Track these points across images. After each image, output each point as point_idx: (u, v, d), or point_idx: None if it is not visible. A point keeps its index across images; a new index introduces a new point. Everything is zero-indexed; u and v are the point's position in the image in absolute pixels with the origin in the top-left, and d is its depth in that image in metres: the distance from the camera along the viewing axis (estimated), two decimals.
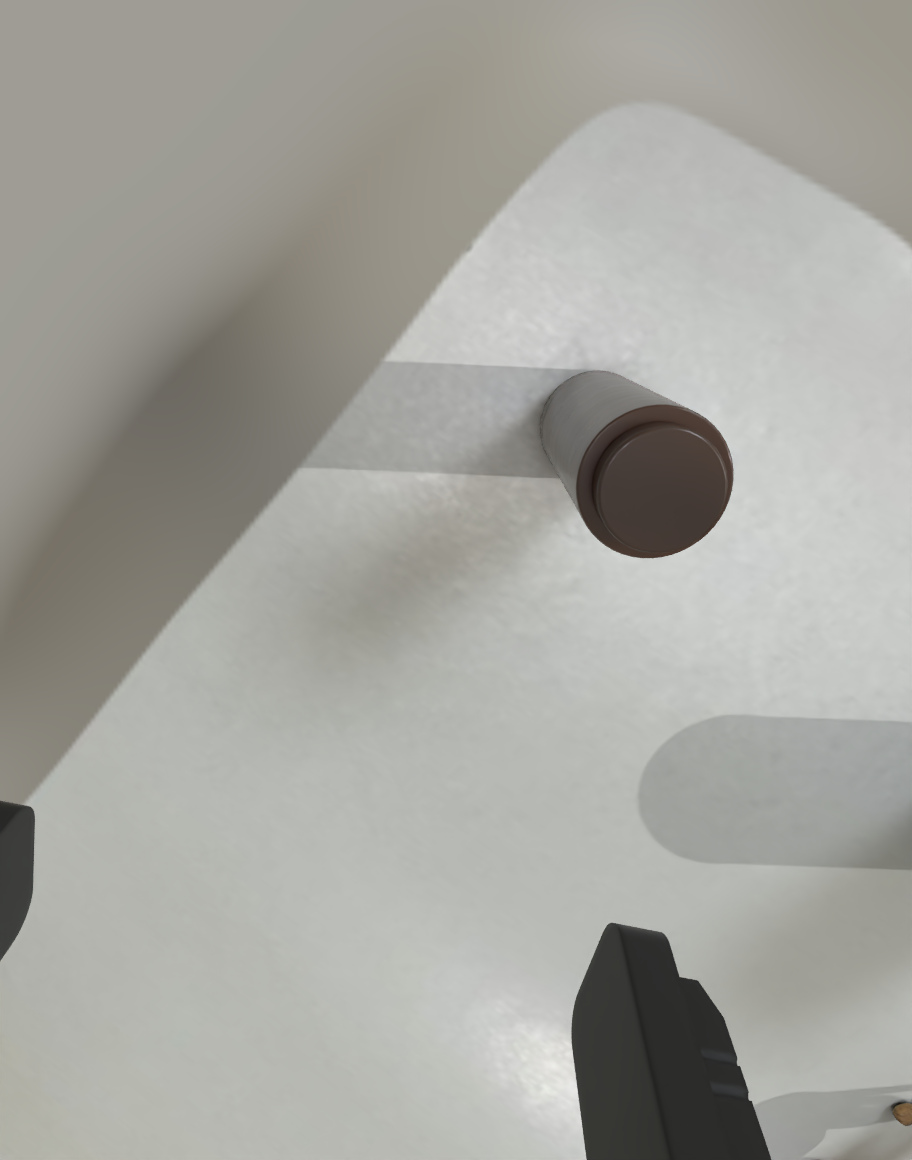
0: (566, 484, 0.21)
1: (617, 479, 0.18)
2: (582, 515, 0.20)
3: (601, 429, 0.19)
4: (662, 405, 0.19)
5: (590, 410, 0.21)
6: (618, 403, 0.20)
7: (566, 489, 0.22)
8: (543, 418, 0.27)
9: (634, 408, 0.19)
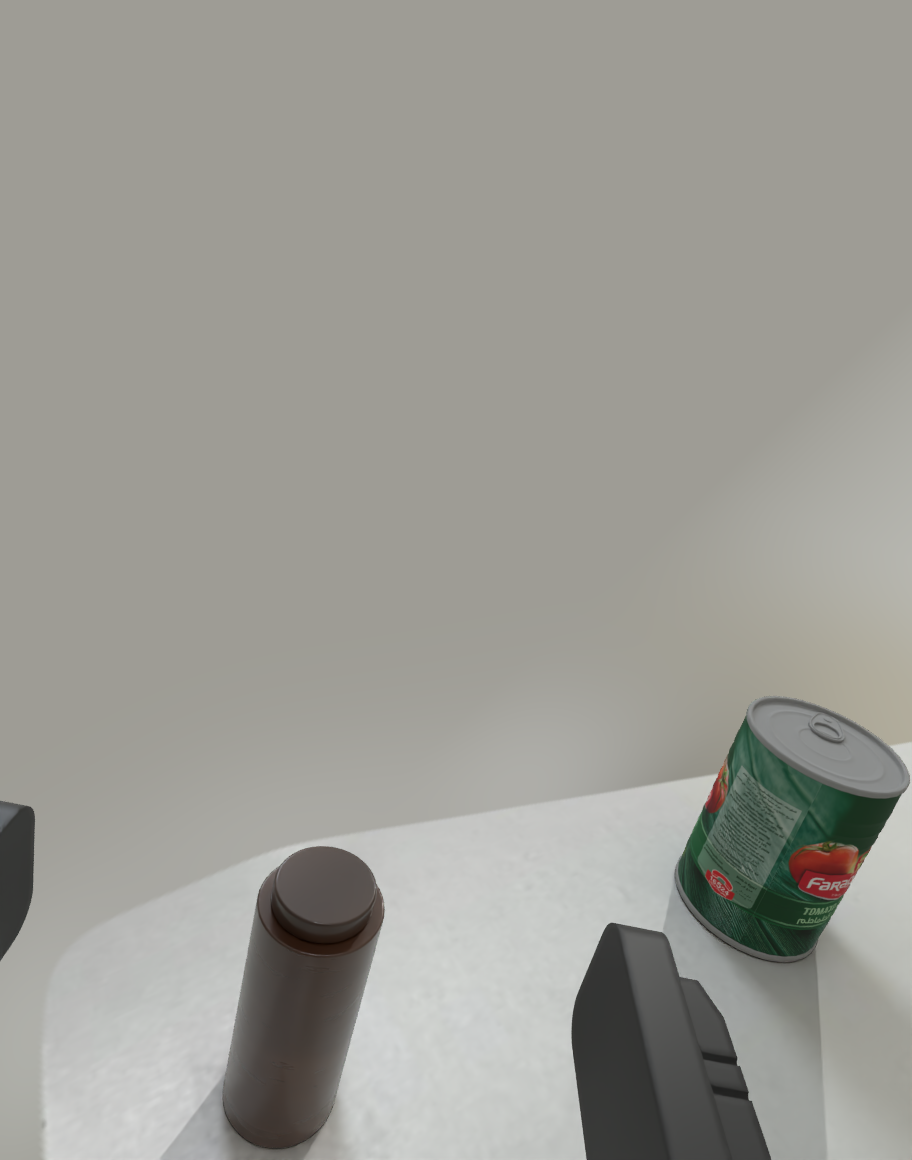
0: (292, 1005, 0.23)
1: (298, 902, 0.23)
2: (315, 956, 0.22)
3: (258, 915, 0.23)
4: None
5: (247, 968, 0.24)
6: (252, 926, 0.24)
7: (300, 1025, 0.23)
8: (240, 1121, 0.25)
9: (259, 892, 0.24)
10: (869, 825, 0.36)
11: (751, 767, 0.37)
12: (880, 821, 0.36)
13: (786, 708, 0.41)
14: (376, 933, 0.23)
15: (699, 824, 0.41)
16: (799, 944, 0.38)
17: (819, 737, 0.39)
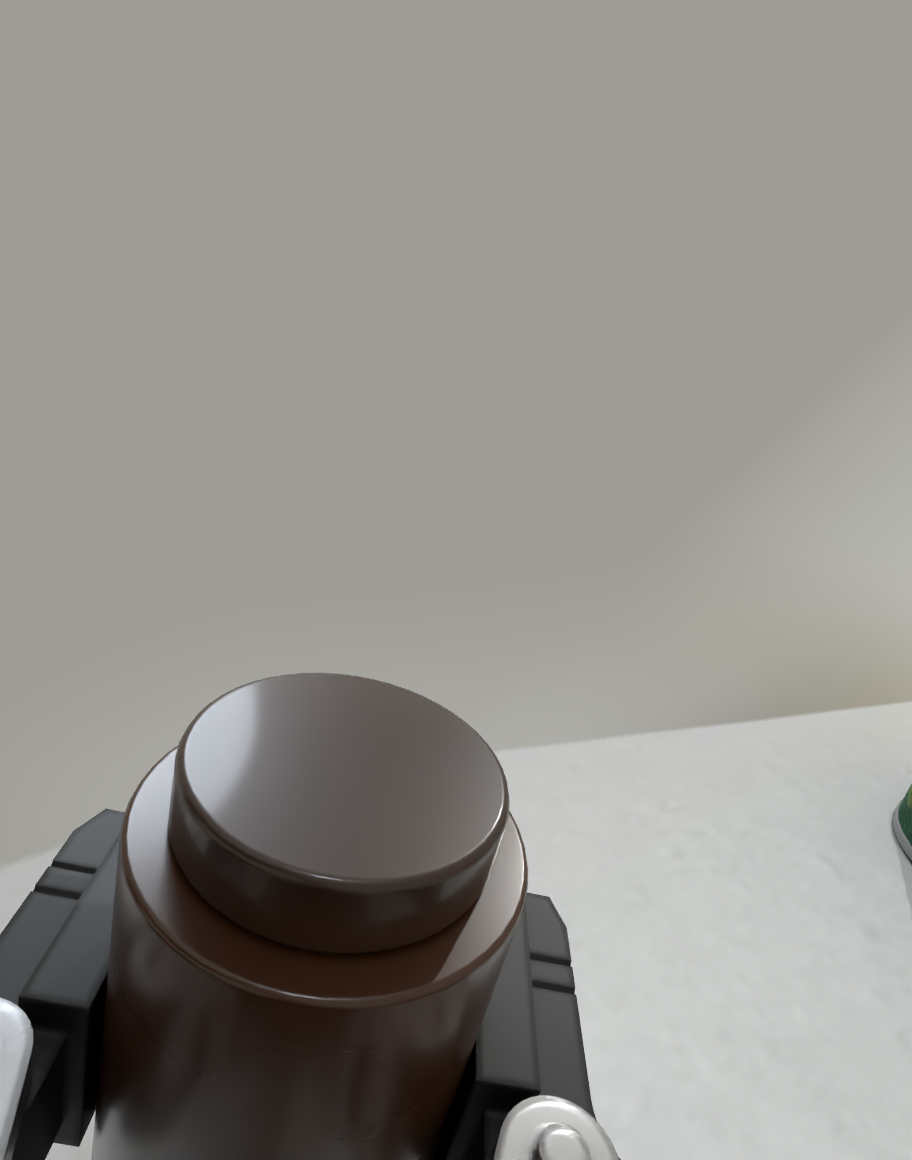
0: None
1: (256, 809, 0.06)
2: (318, 1003, 0.06)
3: (120, 858, 0.07)
4: None
5: None
6: None
7: None
8: None
9: (137, 792, 0.08)
10: None
11: None
12: None
13: None
14: (516, 919, 0.07)
15: None
16: None
17: None
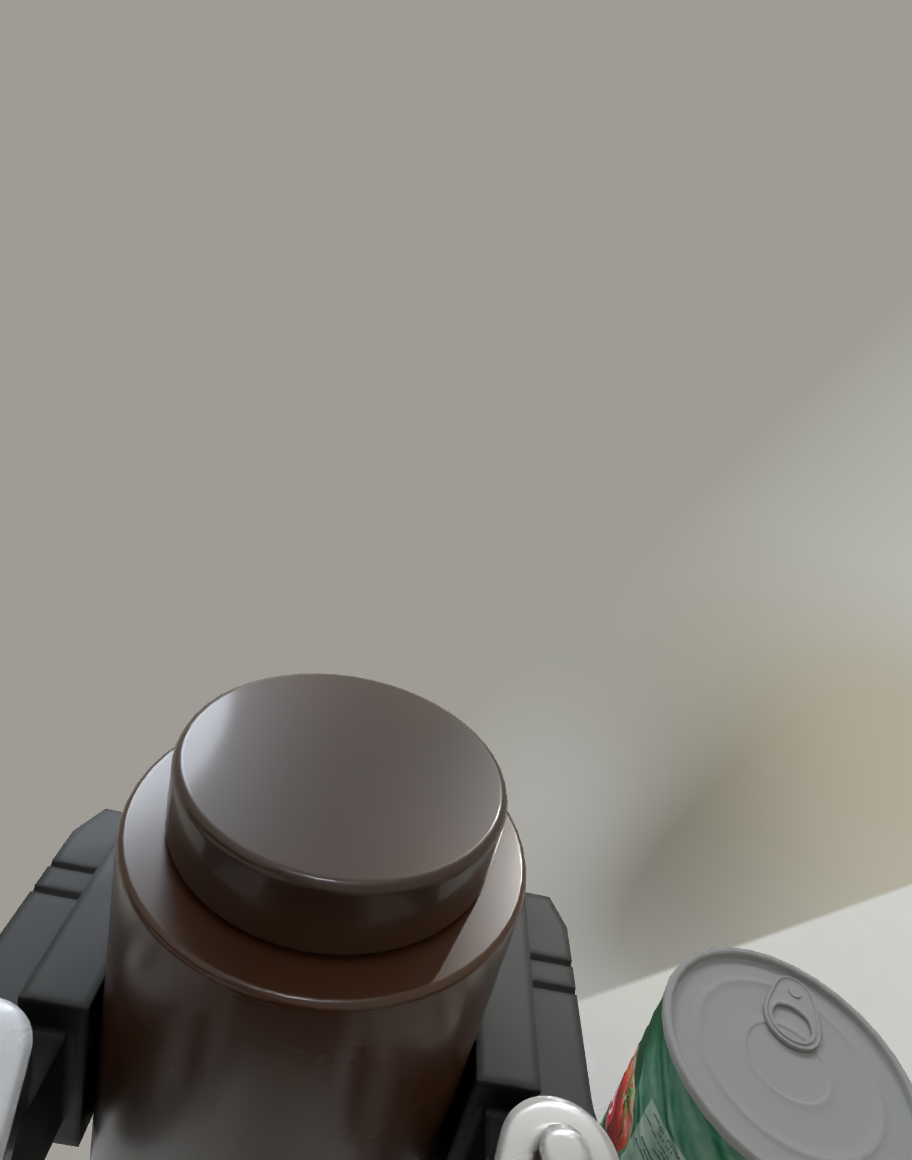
0: None
1: (252, 811, 0.06)
2: (314, 1005, 0.06)
3: (116, 859, 0.07)
4: None
5: (100, 1032, 0.08)
6: None
7: None
8: None
9: None
10: None
11: (665, 1112, 0.22)
12: None
13: (730, 972, 0.26)
14: (514, 921, 0.07)
15: None
16: None
17: (779, 1042, 0.24)
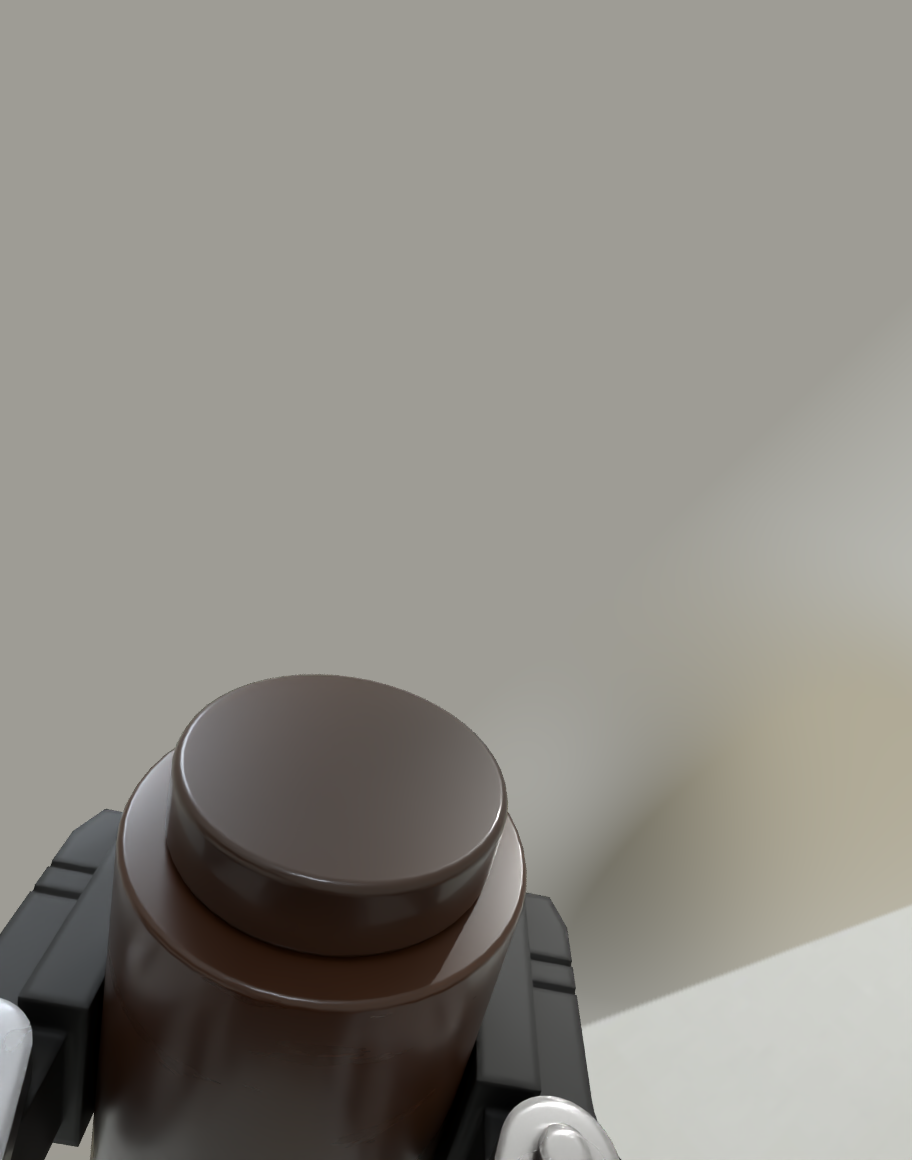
0: None
1: (253, 812, 0.06)
2: (315, 1006, 0.06)
3: (117, 861, 0.07)
4: None
5: None
6: None
7: None
8: None
9: None
10: None
11: None
12: None
13: None
14: (515, 922, 0.07)
15: None
16: None
17: None
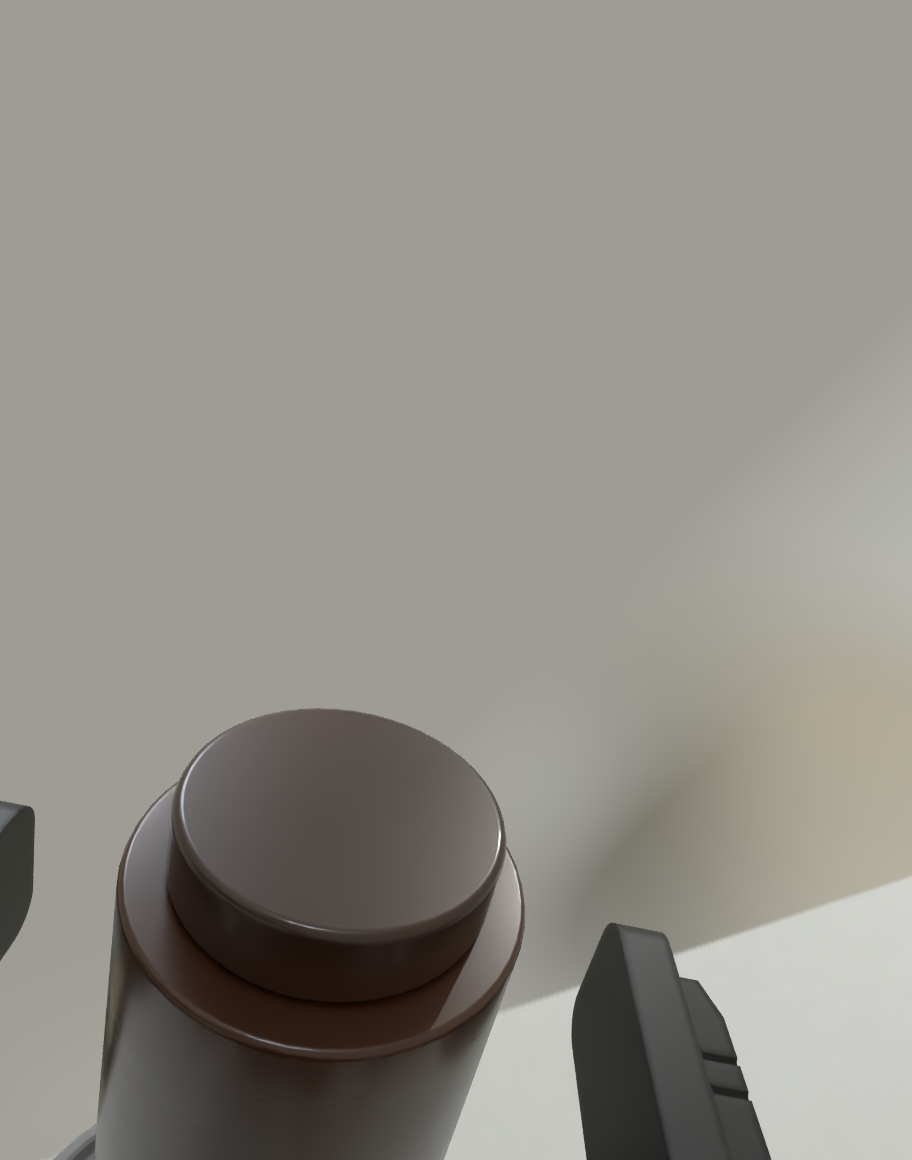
0: None
1: (252, 858, 0.06)
2: (314, 1055, 0.06)
3: (117, 904, 0.07)
4: (173, 785, 0.08)
5: (101, 1069, 0.08)
6: None
7: None
8: None
9: None
10: None
11: None
12: None
13: None
14: (513, 962, 0.07)
15: None
16: None
17: None
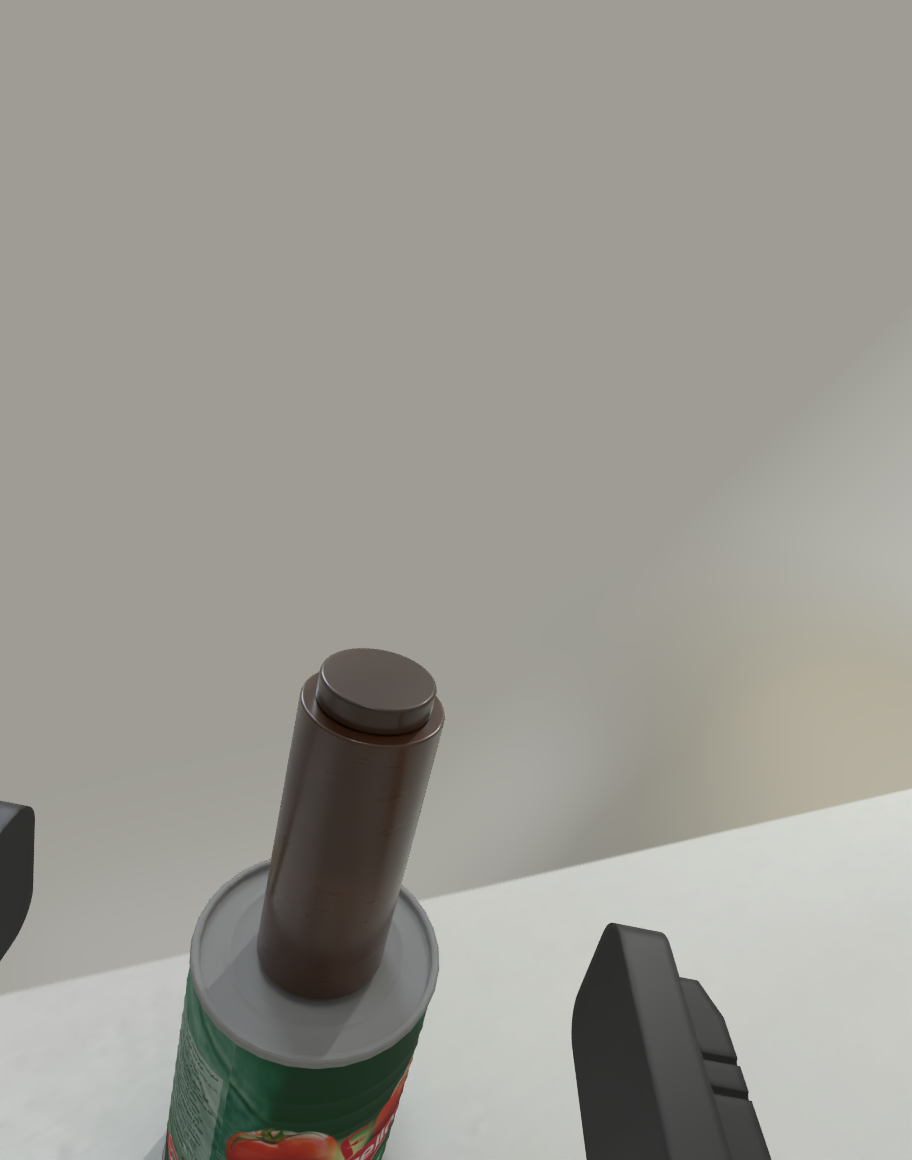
0: (343, 811, 0.20)
1: (349, 690, 0.20)
2: (371, 745, 0.19)
3: (302, 708, 0.20)
4: (311, 676, 0.21)
5: (287, 780, 0.21)
6: (293, 733, 0.21)
7: (351, 838, 0.20)
8: (279, 968, 0.22)
9: (301, 690, 0.21)
10: (332, 1103, 0.22)
11: (186, 991, 0.24)
12: (355, 1093, 0.22)
13: None
14: (437, 732, 0.20)
15: None
16: None
17: None
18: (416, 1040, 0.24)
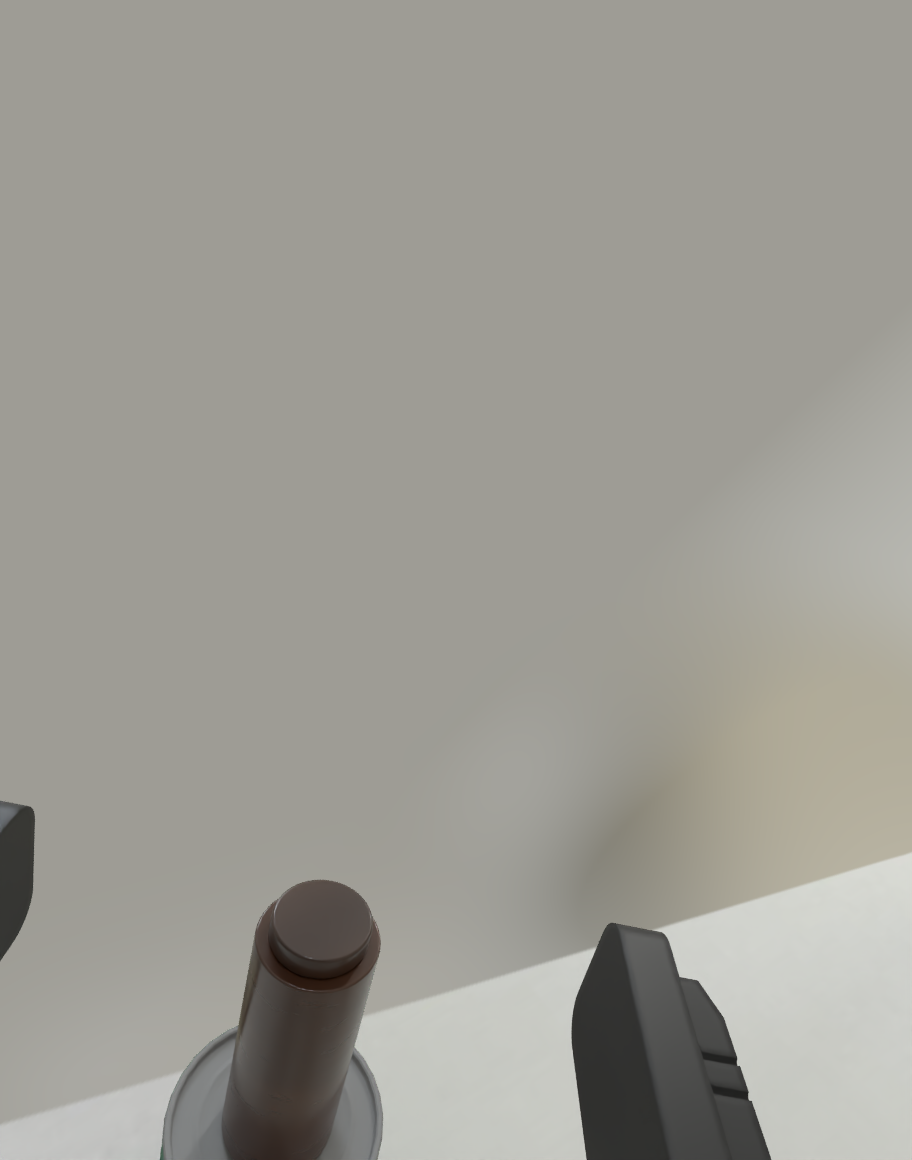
0: (290, 1039, 0.23)
1: (295, 938, 0.23)
2: (312, 992, 0.22)
3: (256, 950, 0.23)
4: None
5: (245, 1001, 0.24)
6: (250, 960, 0.24)
7: (298, 1059, 0.24)
8: (239, 1152, 0.26)
9: None
10: None
11: None
12: None
13: None
14: (372, 967, 0.24)
15: None
16: None
17: None
18: None
